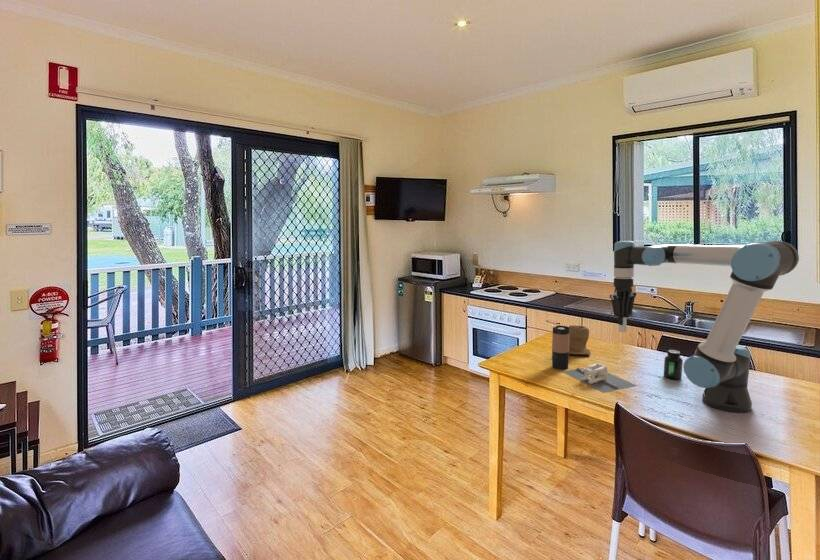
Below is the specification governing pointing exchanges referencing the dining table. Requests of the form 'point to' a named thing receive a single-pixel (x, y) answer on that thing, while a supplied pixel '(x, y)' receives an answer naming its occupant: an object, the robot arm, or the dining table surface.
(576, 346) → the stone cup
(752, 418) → the dining table surface
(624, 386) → the board
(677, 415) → the dining table surface
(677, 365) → the supplement bottle
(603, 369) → the stool
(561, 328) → the travel mug
